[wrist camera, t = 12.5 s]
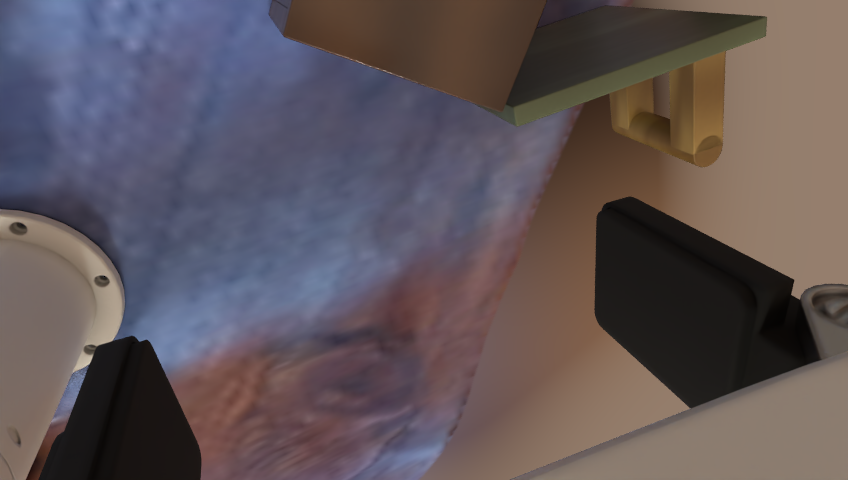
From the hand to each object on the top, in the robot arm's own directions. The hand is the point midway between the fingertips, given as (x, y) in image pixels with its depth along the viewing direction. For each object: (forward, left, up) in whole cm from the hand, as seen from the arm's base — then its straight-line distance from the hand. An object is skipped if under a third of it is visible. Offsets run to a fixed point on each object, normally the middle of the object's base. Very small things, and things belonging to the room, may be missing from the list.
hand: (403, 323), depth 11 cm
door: (+5, -16, -27) cm, 32 cm away
